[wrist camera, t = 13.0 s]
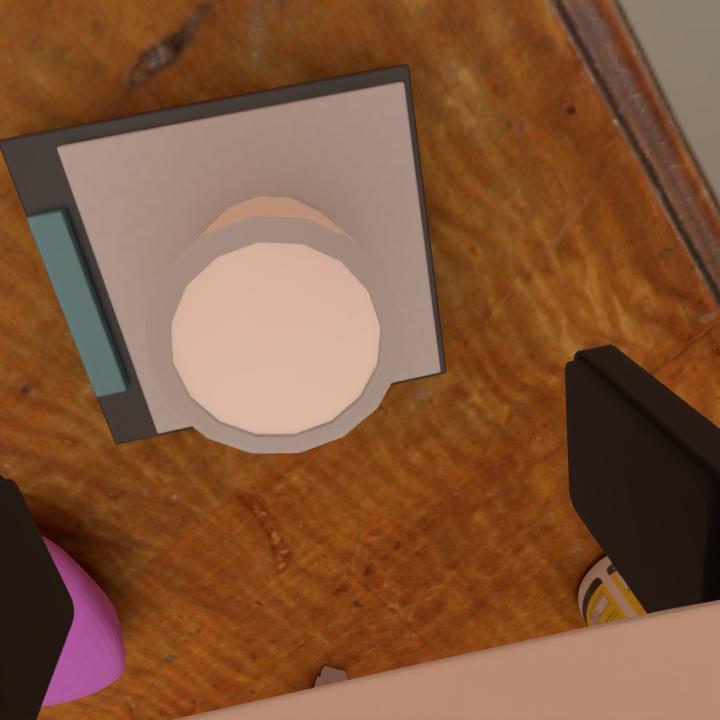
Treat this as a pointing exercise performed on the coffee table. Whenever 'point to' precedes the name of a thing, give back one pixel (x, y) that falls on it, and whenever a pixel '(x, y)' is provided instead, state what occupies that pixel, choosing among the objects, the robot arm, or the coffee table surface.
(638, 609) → the pill bottle
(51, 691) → the blob
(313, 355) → the shot glass
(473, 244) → the coffee table surface
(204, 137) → the scale
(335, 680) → the serrated bird-shaped piece
